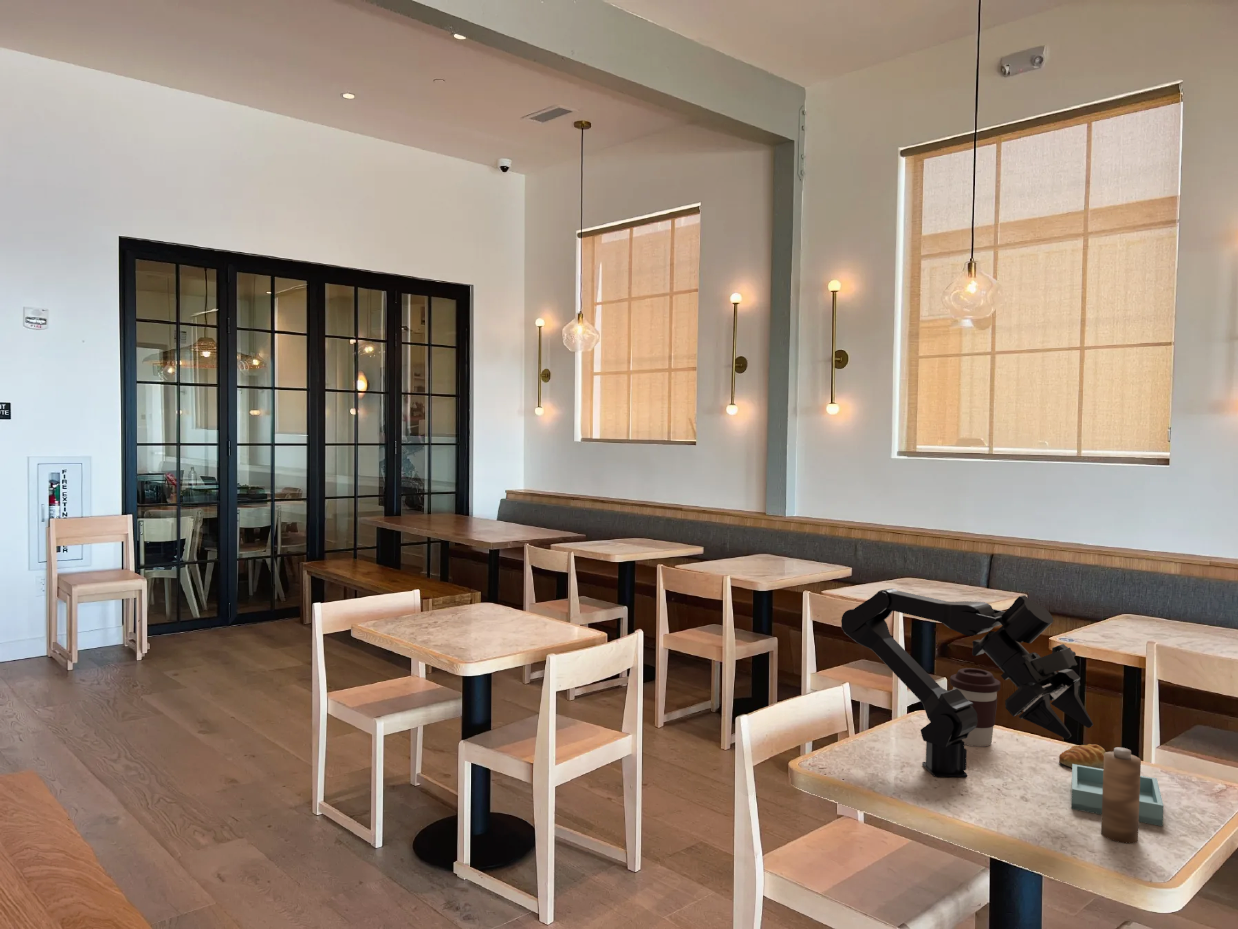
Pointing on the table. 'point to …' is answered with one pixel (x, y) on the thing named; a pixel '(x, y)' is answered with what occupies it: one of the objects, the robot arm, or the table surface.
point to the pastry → (1083, 756)
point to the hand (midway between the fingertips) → (1080, 732)
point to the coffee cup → (979, 702)
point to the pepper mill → (1121, 796)
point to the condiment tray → (1091, 790)
